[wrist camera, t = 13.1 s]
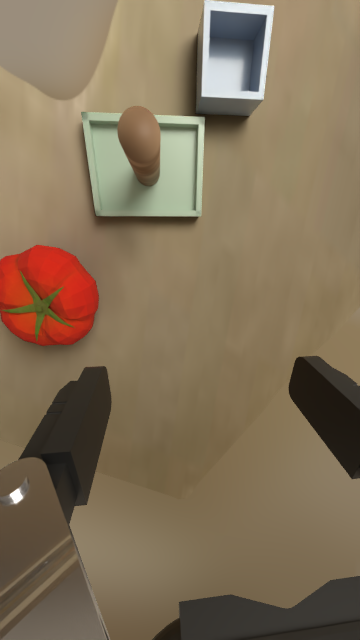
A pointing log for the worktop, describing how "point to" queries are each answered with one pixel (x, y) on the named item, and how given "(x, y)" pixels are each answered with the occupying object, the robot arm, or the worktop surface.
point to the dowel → (141, 143)
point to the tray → (121, 182)
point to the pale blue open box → (232, 57)
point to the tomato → (47, 296)
